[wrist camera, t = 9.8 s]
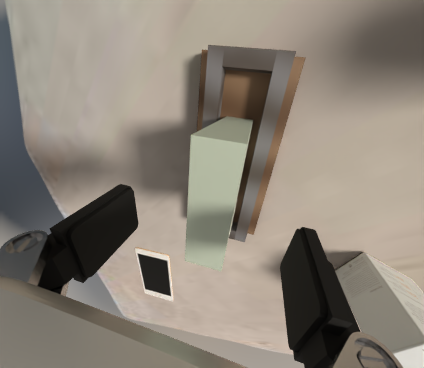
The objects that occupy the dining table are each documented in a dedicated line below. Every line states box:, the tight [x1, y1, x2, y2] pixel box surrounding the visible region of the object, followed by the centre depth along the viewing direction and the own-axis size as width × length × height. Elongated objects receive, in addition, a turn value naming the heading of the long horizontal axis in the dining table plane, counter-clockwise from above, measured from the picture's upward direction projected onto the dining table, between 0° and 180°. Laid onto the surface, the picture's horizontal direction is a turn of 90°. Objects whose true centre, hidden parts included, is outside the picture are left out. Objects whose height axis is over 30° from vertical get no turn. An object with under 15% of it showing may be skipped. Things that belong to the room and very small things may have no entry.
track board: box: [197, 45, 305, 242], centre depth 21 cm, size 22×10×3 cm, turn 174°
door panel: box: [185, 116, 253, 271], centre depth 16 cm, size 10×3×12 cm, turn 174°
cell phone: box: [135, 248, 173, 301], centre depth 39 cm, size 8×16×1 cm, turn 177°
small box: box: [335, 252, 424, 368], centre depth 21 cm, size 8×6×10 cm
